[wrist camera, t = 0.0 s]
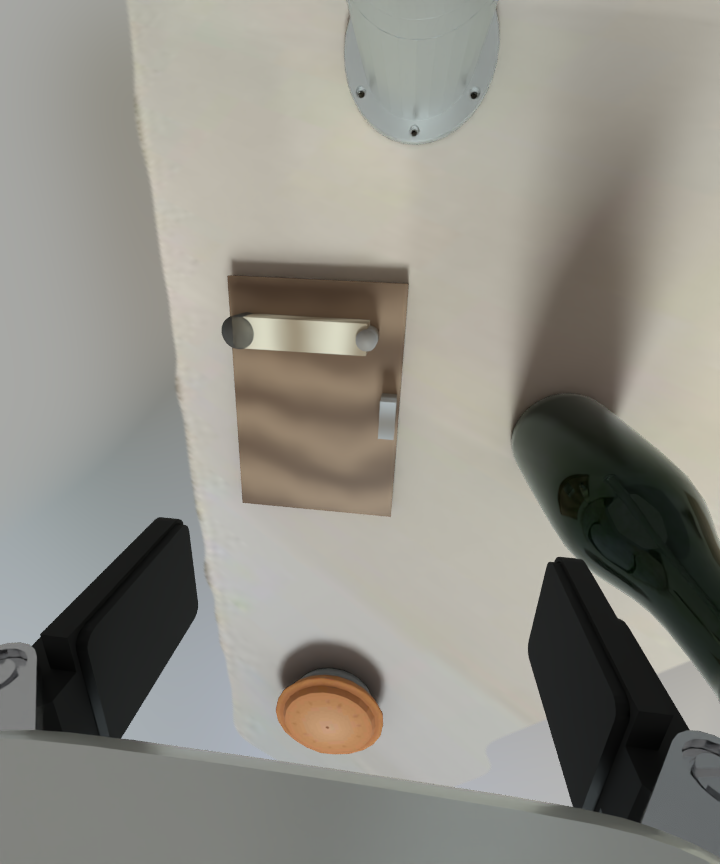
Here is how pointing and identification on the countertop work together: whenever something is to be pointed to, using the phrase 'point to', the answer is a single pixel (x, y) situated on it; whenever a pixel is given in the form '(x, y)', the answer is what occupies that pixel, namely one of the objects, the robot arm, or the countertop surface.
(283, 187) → the countertop surface
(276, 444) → the brown wooden flat board
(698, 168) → the countertop surface
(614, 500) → the green wine bottle
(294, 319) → the folding leg
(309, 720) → the pie
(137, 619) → the robot arm
